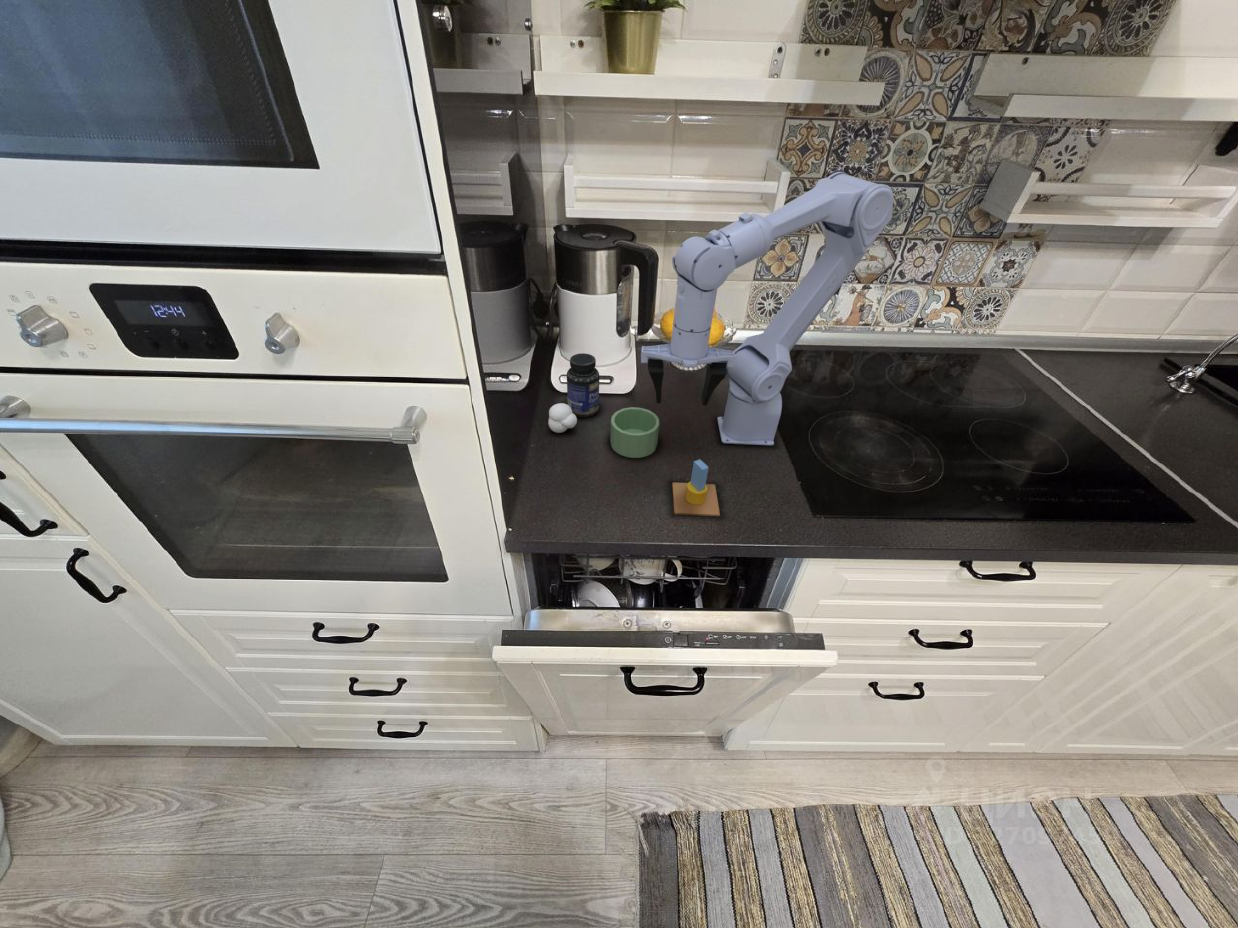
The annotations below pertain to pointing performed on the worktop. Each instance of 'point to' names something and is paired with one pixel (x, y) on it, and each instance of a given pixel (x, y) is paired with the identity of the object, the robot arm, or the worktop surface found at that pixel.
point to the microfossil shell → (561, 418)
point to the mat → (687, 508)
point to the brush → (697, 484)
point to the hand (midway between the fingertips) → (681, 401)
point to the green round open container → (634, 432)
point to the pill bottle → (583, 385)
